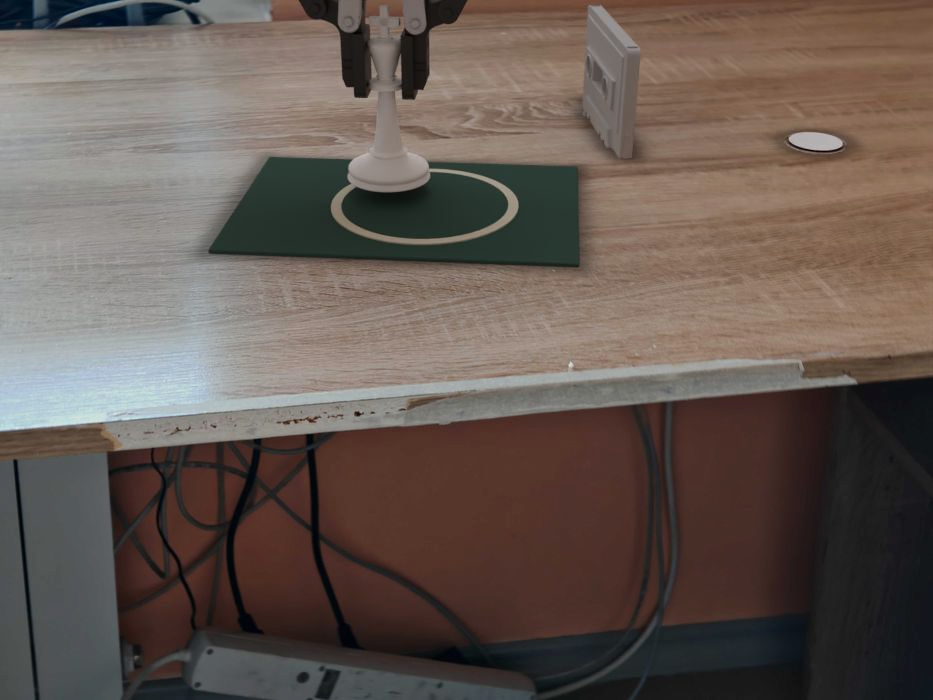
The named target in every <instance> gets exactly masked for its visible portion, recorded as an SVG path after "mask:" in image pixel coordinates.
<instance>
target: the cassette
mask: <svg viewBox="0 0 933 700" xmlns="http://www.w3.org/2000/svg"><path fill="white" fill-rule="evenodd" d="M641 54H642V51H641V48H640V46H638V44H637V43H636V42H635V41H634V40H633V39H632V38H631V36H629V34H628V33H627V32H626V31H625V30H624V29H623V28H622V27H621V26H620V25H619V23H618V22H617V21H616V20H615V19H614V18H613V17H612V15H611V14H609V12H608V11H607V10H606V9H605V8H604V7H603V5H602V4H589V5H587V20H586V36H585V53H584V67H583V68H584V69H583V86H582V87H583V88H582V101H581V102H582V103H581V107H582V111H583V112H582V117H587V119H588V120H589V122H590V124H591V125H592V127H593V128H594V129H595V131H596V133H597V135H598V136H600V137H599V138H600V139H601V141H602V142H603V144H604V146H605V147H606V148H607V149H612V150H613V151H614V153H615V155H616V156H617V158H618V159H620V160H621V159H622V160H628V159H632V158H633V150H634V149H633V147H634V138H635V136H634V135H635V124H636V113H637V102H638V101H637V100H638V92H639V91H638V90H639V80H640V79H639V77H640V66H641V56H642V55H641Z"/></svg>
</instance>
